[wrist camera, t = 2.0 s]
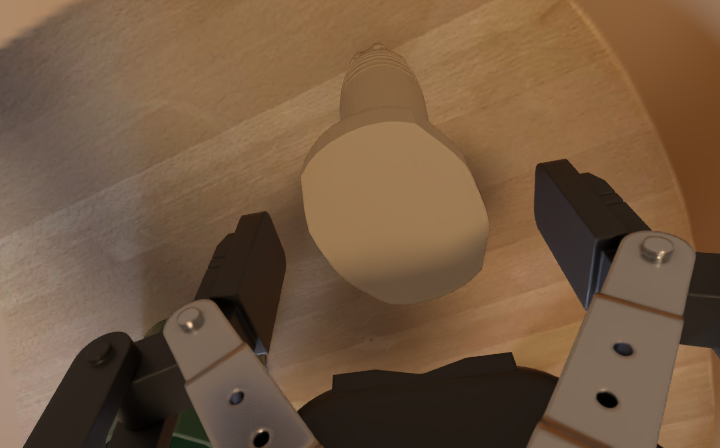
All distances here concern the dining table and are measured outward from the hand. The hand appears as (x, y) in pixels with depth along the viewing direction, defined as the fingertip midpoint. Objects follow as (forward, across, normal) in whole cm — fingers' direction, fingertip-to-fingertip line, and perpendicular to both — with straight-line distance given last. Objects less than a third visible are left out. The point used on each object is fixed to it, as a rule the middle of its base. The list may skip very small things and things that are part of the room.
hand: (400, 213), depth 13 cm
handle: (+14, 0, 0) cm, 14 cm away
